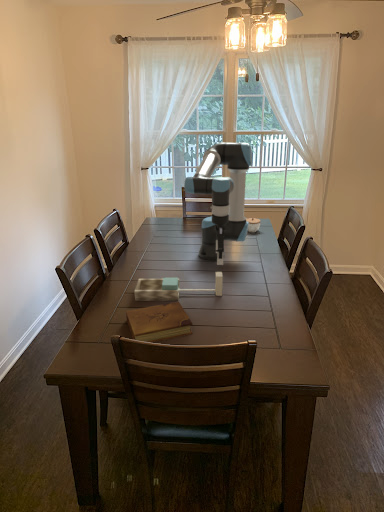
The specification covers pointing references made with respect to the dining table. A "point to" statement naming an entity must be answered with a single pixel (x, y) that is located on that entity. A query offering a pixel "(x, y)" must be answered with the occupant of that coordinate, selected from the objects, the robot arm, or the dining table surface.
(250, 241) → the dining table surface
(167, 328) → the diary
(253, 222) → the lidded jar
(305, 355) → the dining table surface
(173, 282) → the block sled
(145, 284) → the lane
